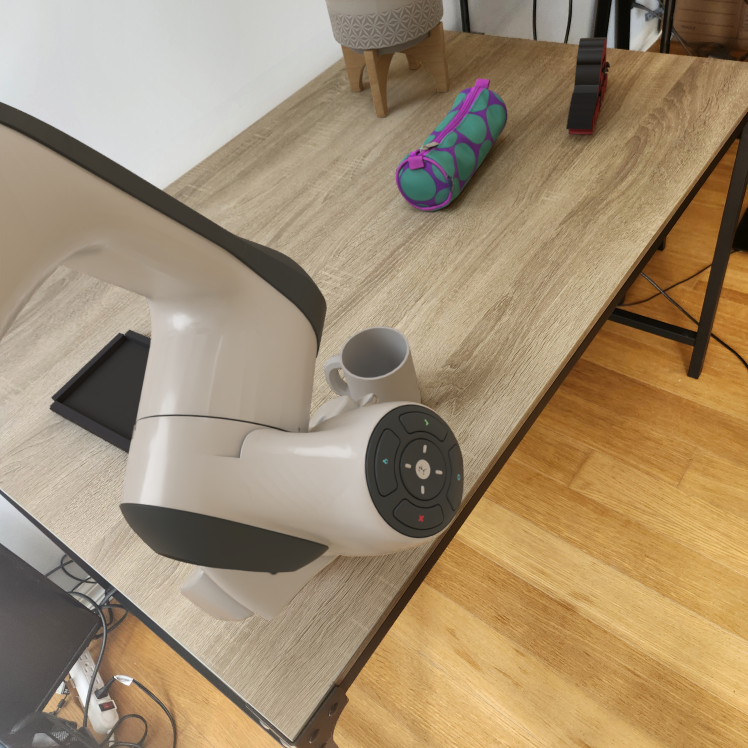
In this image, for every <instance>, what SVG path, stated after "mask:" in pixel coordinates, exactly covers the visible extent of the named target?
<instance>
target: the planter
mask: <svg viewBox="0 0 748 748" xmlns="http://www.w3.org/2000/svg"><path fill="white" fill-rule="evenodd" d="M325 4H326V5H325V6H326V9H327V13H328V14H327V15H328V18H329V22H330V26H331V30H332V35H333V38H334V40H335V41H336V42H337V43H338V44H340V47H341V52H342V56H343V61H344V64H345V70H346V74H347V79H348V82H349V87H350V91H351V92H352V93H353V92H354V93H361V91H362V90H363V89H364V84H363V76H364V70H365V67H366V71H367V75H368V77H367V78H368V81H369V86H370V90H371V91H370V92H371V96H372V101H373V106H374V111H375V115H376V118H386V116H387V114H388V113H389V107H388V78H389V77H388V76H389V70H390V67H391V62H392V61H393V60H392V59H393V57H394V55H395V54H396V53H399V54H404V55H405V56H406V61H407V64H408V69H409V70H417V69H418V68H419V67H420V65H421V64H422V65H423V66H424V67H425V68H426V69H427V71H428V72H429V73H430V75H431V77H432V79H433V81H434V84H435V86H436V91H437V93H448V92H449V90H450V77H449V67H448V60H447V49H446V41H445V31H444V23H443V21H442V19H443V17H444V3H443V0H325Z"/></svg>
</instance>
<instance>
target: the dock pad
mask: <svg viewBox="0 0 748 748" xmlns="http://www.w3.org/2000/svg"><path fill="white" fill-rule="evenodd" d="M150 344H151V337H148V336H146V335H144V334H142V333H139V332H136V331H135V330H132V329H128V330H127V331H126V332H125V333H122V332H118V333H117V334H116V335H115V336H114V337H113V338H112V339H111V340H110V341H108V342H107V344H105V345H104V346H103V347H102V348H101V349H100V350H99V351H98V352H96V354H95V355H94V356H92V358H91V359H90V360H89V361H87V362H86V363H85V365H84V366H82V367H81V368H80V369H79V370H78V371H77V372H76V373H75V374H74V375H73V376H72V377H71V378H70V379H68V380H67V382H65V383H64V384H63V385H62V386H61V387H60V388H59V389H58V391H56V392H55V393H54V394H53V395H52V396H51V397H50V399H52V401H53V402H52V403H51V404H50V405H49V410H50V411H51V412H53V413H55V414H57V415H58V416H60V417H62V418H63V419H66V420H67V421H69V422H71V423H72V424H74V425H76V426H78V427H79V428H82V429H84V430H85V431H87V432H89V433H91V434H92V435H94V436H96V437H98V438H100V439H101V440H103V441H105V442H107V443H109V444H110V445H112V446H113V447H116V448H118V449H119V450H121V451H122V452H125V453H126V454H129V449H130V444H131V439H132V434H133V429H134V425H136V419H137V413H138V408H139V403H140V398H141V392H142V387H143V382H144V376H145V371H146V366H147V360H148V355H149V350H150Z"/></svg>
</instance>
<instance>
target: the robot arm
mask: <svg viewBox="0 0 748 748" xmlns="http://www.w3.org/2000/svg"><path fill="white" fill-rule="evenodd" d="M61 266H62V267H64V268H67V269H68V270H73V271H75V272H77V273H80V274H82V275H85V276H89V277H91V278H93V279H96V280H99V281H102V282H105V283H107V284H109V285H112V286H116V287H117V288H120V289H123V290H126V291H129V292H131V293H134V294H137V295H140V296H143V297H144V298H145V299H146V302H147V305H148V309H149V314H150V315H149V316H150V326H151V330H150V331H151V333H150V338H151V344H150V350H149V355H148V360H147V366H146V371H145V376H144V382H143V387H142V392H141V398H140V403H139V408H138V413H137V419H136V425H134V429H133V434H132V439H131V444H130V449H129V454H128V453H127V454H128V455H127V460H126V467H125V472H124V478H123V484H122V490H121V497H120V504H119V505H118V507H119V510H120V512H121V514H122V517H123V518H124V520H125V521H126V523H127V524H128V526H129V527H130V528H131V530H132V532H134V534H136V535H137V536H138V537H139V538H140V540H141V541H143V542H144V543H145V545H147V547H149V548H150V549H151V550H152V551H153V552H154V553H155V554H157V555H159V556H161V557H164V558H167V559H171V560H174V561H177V562H181V563H184V564H188V565H194V566H195V567H194V568H193V570H192V571H191V572H190V573H189V575H188V576H187V577H186V578H185V580H184V581H183V582H182V584H181V586H180V589H179V591H180V594H181V595H182V596H183V597H184V598H185V599H186V600H188V601H189V602H190V603H191V604H192V605H194V606H195V607H196V608H198V609H199V610H200V611H202V612H203V613H204V614H206V615H207V616H209V617H210V618H212V619H215V620H218V621H223V622H241V621H245V620H247V619H248V618H250V617H253V615H257V616H259V617H260V618H262V619H264V620H266V621H273V620H274V619H276V618H277V617H279V616H280V614H281V613H282V612H283V611H284V610H285V609H286V608H287V606H288V605H290V604H291V602H293V600H294V599H295V598H296V597H297V595H298V594H300V592H302V590H303V589H304V588H305V587H306V586H307V585H308V583H309V582H310V581H311V580H312V579H314V577H315V576H317V575H318V573H320V572H321V571H323V570H324V569H325V568H326V567H327V566H329V565H330V564H331V563H332V562H334V561H335V560H336V559H337V558H338V557H339V556H343V557H377V556H384V555H390V554H395V553H400V552H405V551H409V550H411V549H415V548H418V547H421V546H423V545H426V544H428V543H430V542H432V541H433V540H435V539H436V538H438V537H439V536H441V535H442V534H443V533H444V532H445V531H446V530H447V529H448V528H449V527H450V526H451V524H452V523H453V521H454V520H455V518H456V517H457V514H458V513H459V510H460V508H461V506H462V501H463V497H464V496H463V494H464V484H465V467H464V458H463V453H462V449H461V446H460V444H459V442H458V439H457V437H456V435H455V433H454V431H453V430H452V428H451V426H450V425H449V424H448V422H447V421H446V420H445V418H443V417H442V416H441V414H439V413H438V411H436V410H435V409H433V408H431V407H429V406H428V405H425V404H423V403H421V404H420V403H416V402H408V401H396V402H386V403H379V404H377V402H378V401H379V399H378V397H377V395H375V394H373V393H370V394H368V395H365V396H363V397H362V398H360V399H359V400H358V401H357V402H356V401H355V400H353V399H352V398H351V397H350V396H347V395H343V396H339V395H338V396H337V397H333V398H331V399H328V400H326V401H325V402H324V403H323V404H321V405H320V407H319V408H317V409H316V411H315V412H314V414H313V415H312V416H311V411H312V410H311V409H312V402H313V401H312V400H313V392H314V391H313V390H314V382H315V372H316V363H317V358H318V356H319V352H320V348H321V342H322V337H323V333H324V332H323V331H324V327H325V321H326V315H327V311H328V307H327V302H326V301H327V300H326V298H325V296H324V294H323V293H322V291H321V290H320V288H319V287H318V285H317V283H315V281H314V280H313V278H312V277H311V276H310V274H309V273H308V272H307V271H306V270H305V269H304V268H303V267H302V266H301V265H300V264H299V263H298V262H297V261H296V260H294V259H292V257H290V256H288V255H287V254H285V253H283V252H281V251H279V250H276V249H274V248H271V247H269V246H266V245H264V244H261V243H258V242H257V241H256V242H255V241H252V240H250V239H248V238H244V237H242V236H239V235H238V234H237V235H236V234H234V233H233V232H231V231H230V230H228V229H226V228H224V227H222V226H221V225H219V224H218V223H216V222H214V221H212V220H211V219H209V218H208V217H206V216H205V215H203V214H202V213H201V212H198V211H197V210H195V209H193V208H191V207H190V206H189V205H187V204H185V203H183V202H182V201H180V200H178V199H177V198H175V197H174V196H172V195H170V194H169V193H167V192H165V191H164V190H162V189H161V188H159V187H157V186H156V185H154V184H153V183H152V182H149V181H148V180H146V179H144V178H143V177H141V176H139V174H136V173H135V172H133V171H132V170H130V169H128V168H126V167H125V166H123V165H122V164H120V163H118V162H116V161H115V160H113V159H112V158H110V157H108V156H106V155H105V154H103V153H101V152H100V151H98V150H96V149H94V148H93V147H92V146H89V145H88V144H86V143H84V142H83V141H81V140H79V139H77V138H76V137H74V136H71V135H70V134H68V133H66V132H65V131H63V130H61V129H59V128H57V127H56V126H53V125H51V124H49V123H48V122H45V121H43V120H41V119H40V118H38V117H36V116H33V115H32V114H29V113H27V112H25V111H23V110H21V109H18V108H16V107H14V106H12V105H9V104H7V103H4V102H3V101H0V343H1V342H2V340H3V339H4V337H5V336H6V334H7V333H8V331H9V330H10V328H11V326H12V325H13V324H14V322H15V321H16V319H17V317H18V316H19V315H20V314H21V312H22V311H23V309H24V308H25V307H26V306H27V304H28V303H29V302H30V300H31V299H32V298H33V296H34V295H35V294H36V293H37V291H38V290H40V288H41V287H42V286H43V285H44V284H45V283H46V281H47V280H48V279H49V278H50V276H52V275H53V274H54V273H55V272H56V271H57V270H58V269H59V268H60V267H61Z"/></svg>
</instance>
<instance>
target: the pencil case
mask: <svg viewBox="0 0 748 748" xmlns="http://www.w3.org/2000/svg"><path fill="white" fill-rule="evenodd" d="M490 84H491V79H490V78H489V79H488V78H477V79H476V81H475V83H474V86H472V87H467V88H464V89H462V90H461V91H460V92H459V93H458V94H457V95H456V97H455V99H454V101H453V104H452V106H451V108H450V109H449V110H448V112H447V113H446V115H445V117H443V119H442V120H441V122H440V123H439V124H438V125H437V126H436V127H435V128H434V130H433V131H432V132H431V133H430V134H429V135H428V136H427V137H426V139H425V141H424V142H423V143H422V144H421V146H420V147H419V148H417V149H415V150H413V151H411V152H409V153H407V154H406V155H405V156H404V157H403V159H401V161H400V162H399V163H398V165H397V167H396V169H395V182H396V183H395V184H396V186H397V189H398V191H399V194H400V195H401V196H402V198H404V200H405V201H406V203H408V204H409V205H410V206H412V207H413V208H415V209H417V210H419V211H421V212H435V211H438V210H441V209H443V208H445V207H448V205H450V204H451V203H452V201H454V200H456V199H457V198H458V197H459V195H460V194H461V192H462V191H463V189H464V188H465V186H466V185H467V184H468V183H469V182H470V180H471V178H472V177H473V175H474V174H475V173H476V171H477V170H478V168H479V167H480V166H481V164H483V162H484V160H485V158H486V157H487V156H488V153H490V151H491V149H492V147H493V146H494V144H495V142H497V139H498V138H499V137H500V136H501V134H503V131H504V129H505V127H506V126H507V122H508V109H507V106H506V103H505V101H504V99H503V98H502V97H501V95H500V94H498V93H497V92H496V91H494V90H492V89H490Z"/></svg>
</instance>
